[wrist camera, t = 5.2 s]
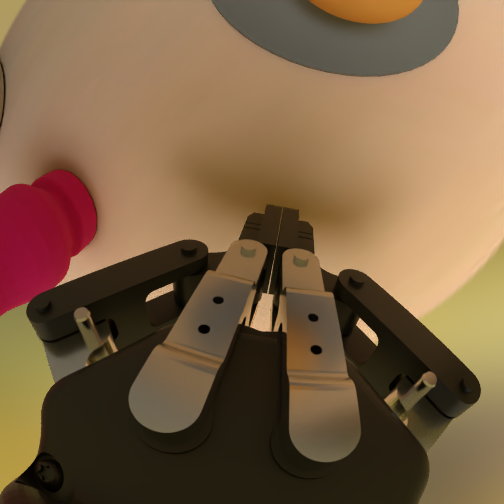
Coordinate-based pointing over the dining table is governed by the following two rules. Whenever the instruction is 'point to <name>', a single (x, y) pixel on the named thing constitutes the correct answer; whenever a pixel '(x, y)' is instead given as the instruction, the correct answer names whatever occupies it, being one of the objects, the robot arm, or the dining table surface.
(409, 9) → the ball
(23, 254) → the pepper mill
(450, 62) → the dining table surface
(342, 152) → the dining table surface
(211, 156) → the dining table surface
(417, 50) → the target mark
